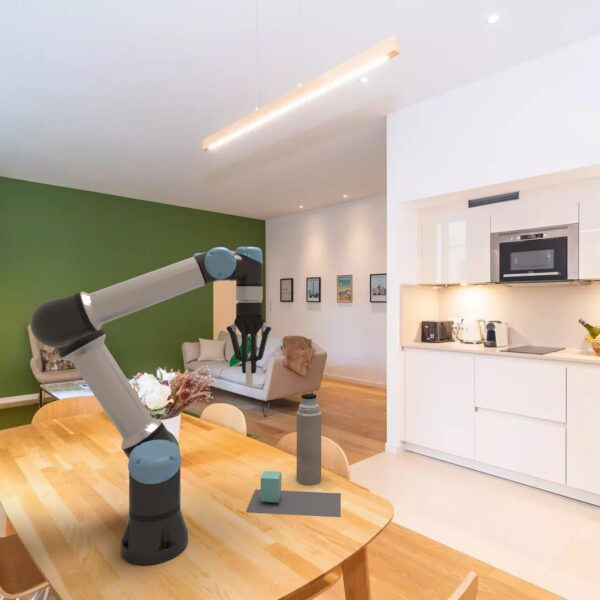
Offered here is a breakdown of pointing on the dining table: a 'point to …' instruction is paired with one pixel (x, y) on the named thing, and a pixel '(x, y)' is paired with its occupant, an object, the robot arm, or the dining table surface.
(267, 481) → the teal rectangular block
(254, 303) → the robot arm
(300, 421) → the thermos bottle
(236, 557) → the dining table surface
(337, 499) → the mat
